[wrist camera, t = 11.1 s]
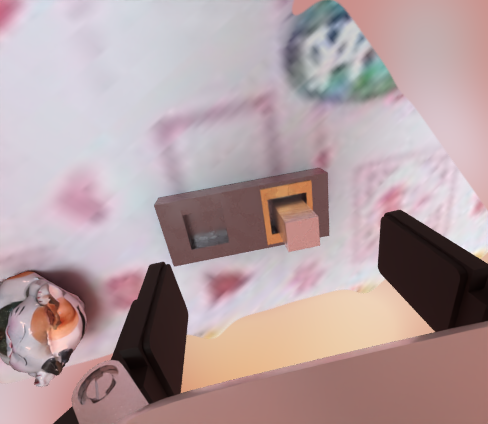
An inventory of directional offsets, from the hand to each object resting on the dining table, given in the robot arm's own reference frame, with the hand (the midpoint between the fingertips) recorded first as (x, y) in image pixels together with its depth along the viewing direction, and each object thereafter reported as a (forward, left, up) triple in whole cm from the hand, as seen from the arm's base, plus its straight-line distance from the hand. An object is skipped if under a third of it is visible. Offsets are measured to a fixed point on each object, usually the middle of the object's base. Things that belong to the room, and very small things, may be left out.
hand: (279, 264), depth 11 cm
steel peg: (+9, +6, -26) cm, 28 cm away
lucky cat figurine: (+17, -33, -27) cm, 46 cm away
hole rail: (+9, 0, -27) cm, 28 cm away
